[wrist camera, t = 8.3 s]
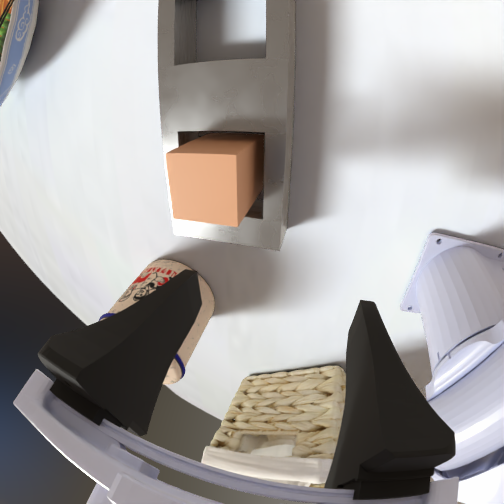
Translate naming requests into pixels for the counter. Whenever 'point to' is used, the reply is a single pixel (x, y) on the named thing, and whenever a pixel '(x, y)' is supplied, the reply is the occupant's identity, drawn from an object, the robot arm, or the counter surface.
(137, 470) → the robot arm
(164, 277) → the teacup with lid
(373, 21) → the counter surface
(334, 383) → the storage basket
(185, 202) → the orange brown block
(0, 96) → the ramen bowl
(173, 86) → the grey slotted board
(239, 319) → the counter surface
